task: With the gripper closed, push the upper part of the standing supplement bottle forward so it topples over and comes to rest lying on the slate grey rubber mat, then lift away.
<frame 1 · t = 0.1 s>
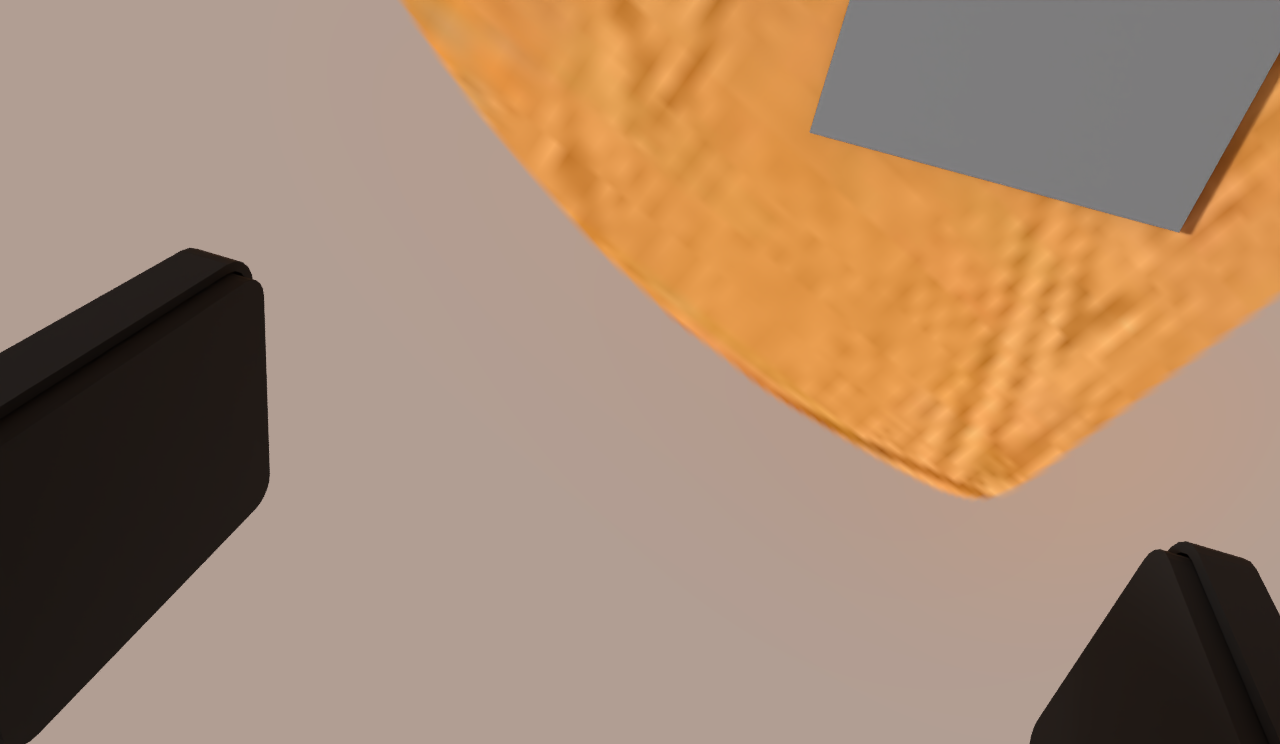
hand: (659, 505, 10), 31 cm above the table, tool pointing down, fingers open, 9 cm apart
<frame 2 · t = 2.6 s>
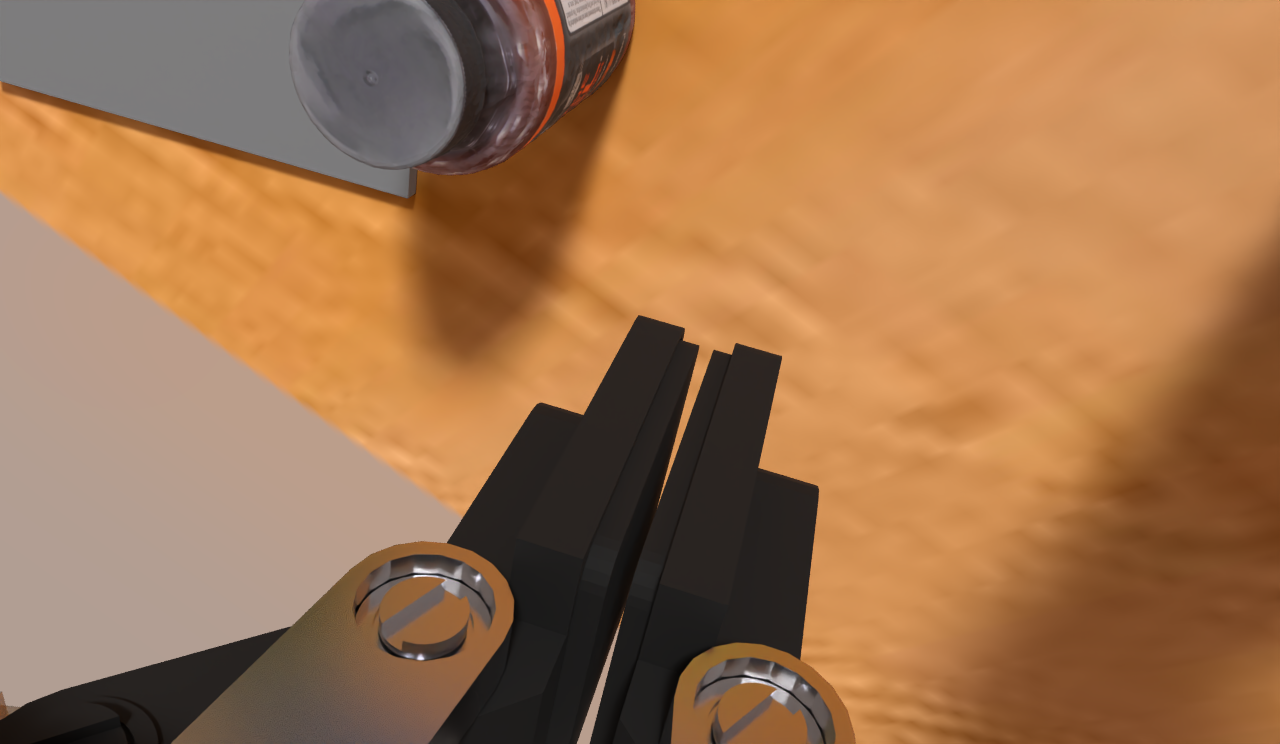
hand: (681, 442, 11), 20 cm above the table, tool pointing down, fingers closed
supplement bottle: (551, 1, 29), on the table
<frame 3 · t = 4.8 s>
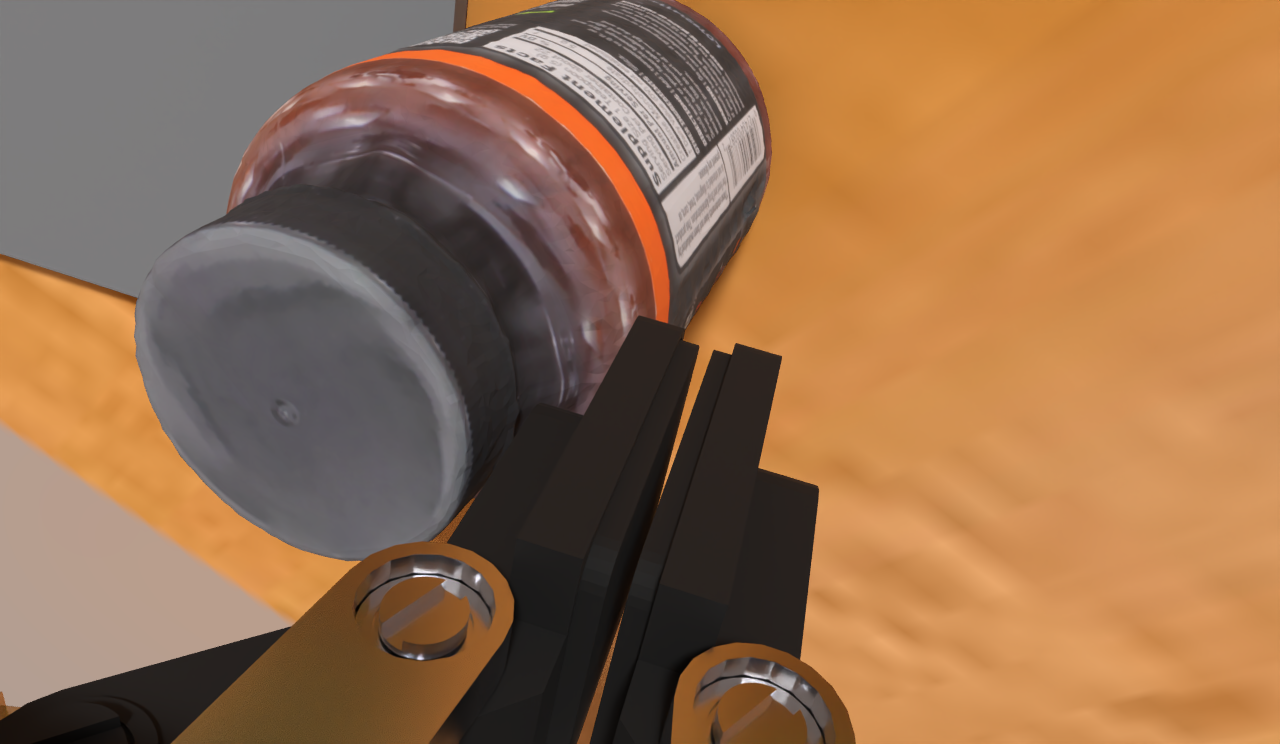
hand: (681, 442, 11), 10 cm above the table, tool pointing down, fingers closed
supplement bottle: (640, 137, 19), on the table, touching gripper
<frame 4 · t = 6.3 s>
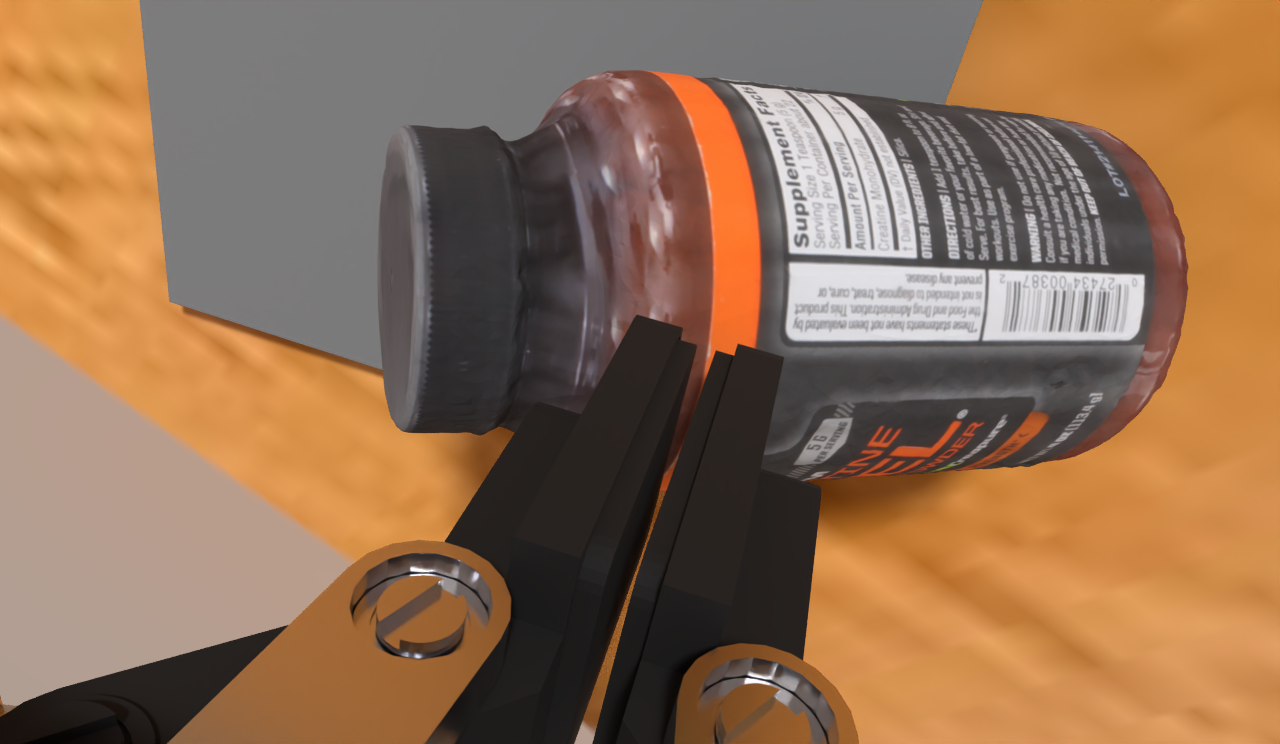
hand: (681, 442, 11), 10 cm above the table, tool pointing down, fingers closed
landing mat: (511, 98, 19), on the table
supplement bottle: (1061, 294, 16), point 2 cm above the table, touching gripper
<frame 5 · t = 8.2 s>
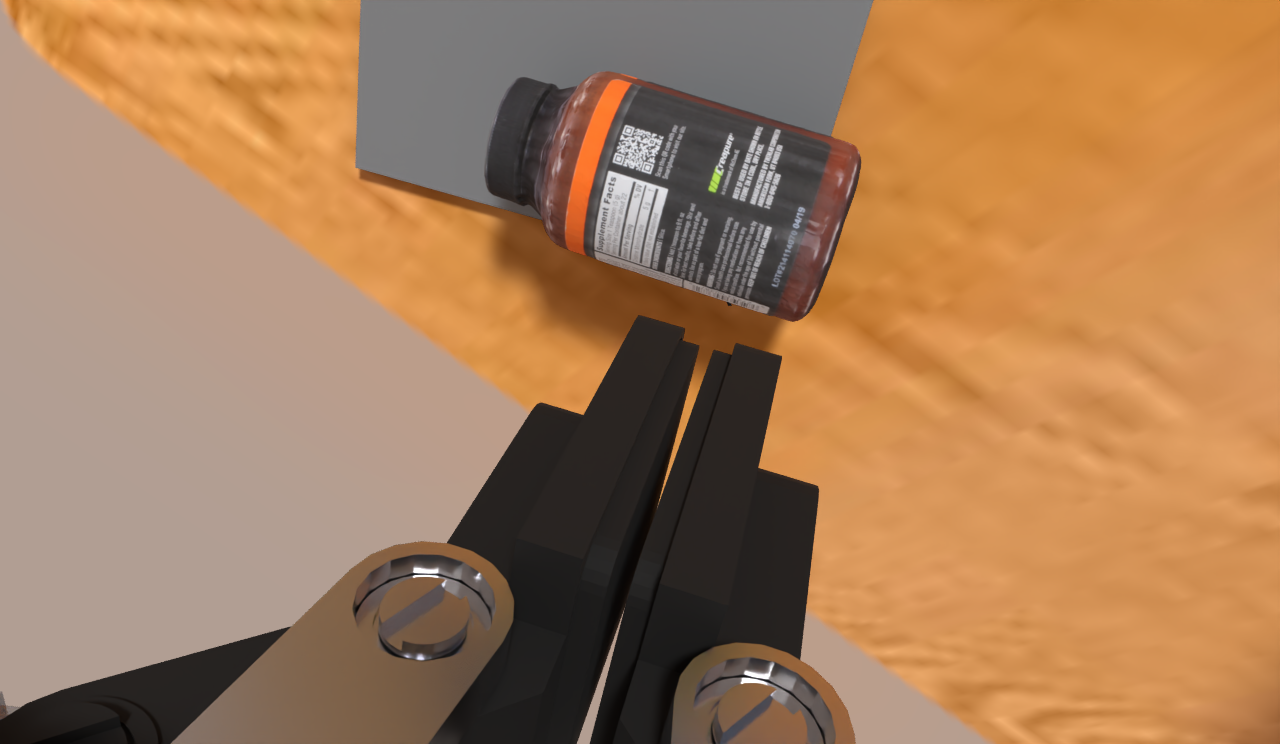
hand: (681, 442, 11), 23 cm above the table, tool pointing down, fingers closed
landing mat: (602, 18, 31), on the table
supplement bottle: (841, 242, 29), point 4 cm above the table, touching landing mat
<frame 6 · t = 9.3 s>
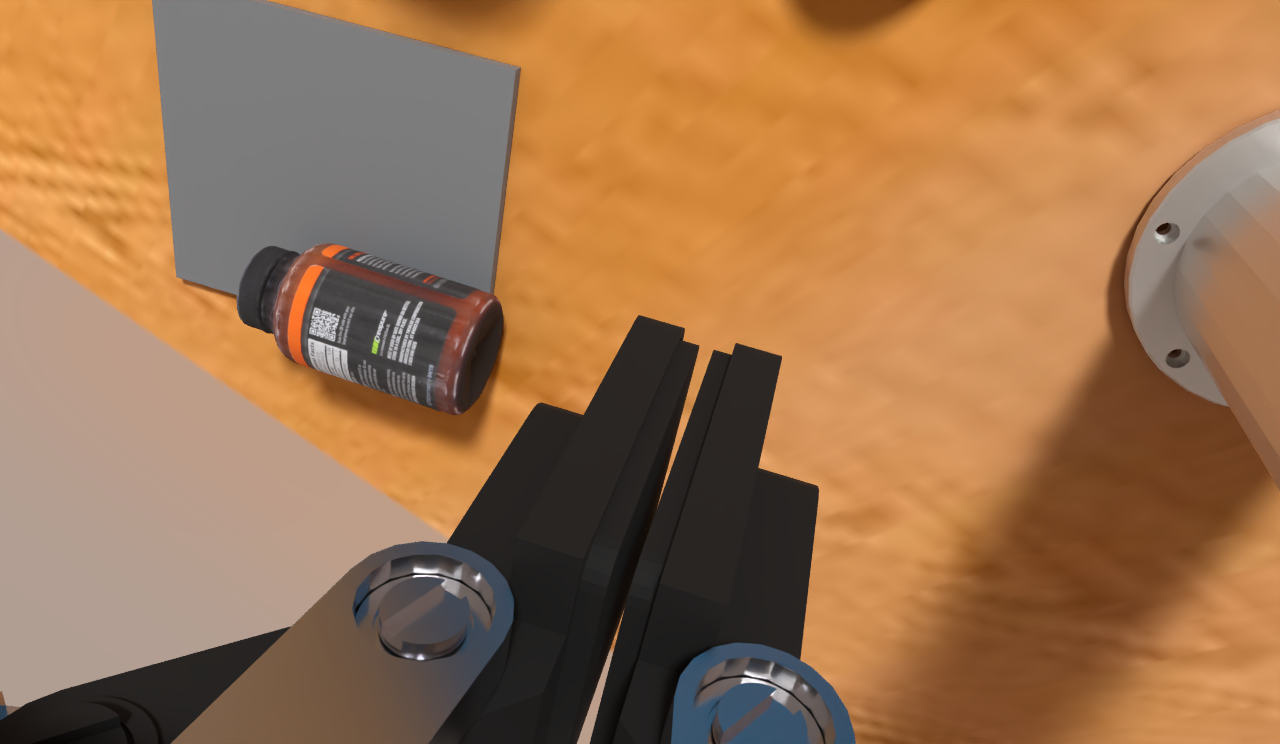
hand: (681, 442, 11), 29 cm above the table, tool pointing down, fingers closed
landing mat: (333, 181, 44), on the table
supplement bottle: (487, 360, 42), point 4 cm above the table, touching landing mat
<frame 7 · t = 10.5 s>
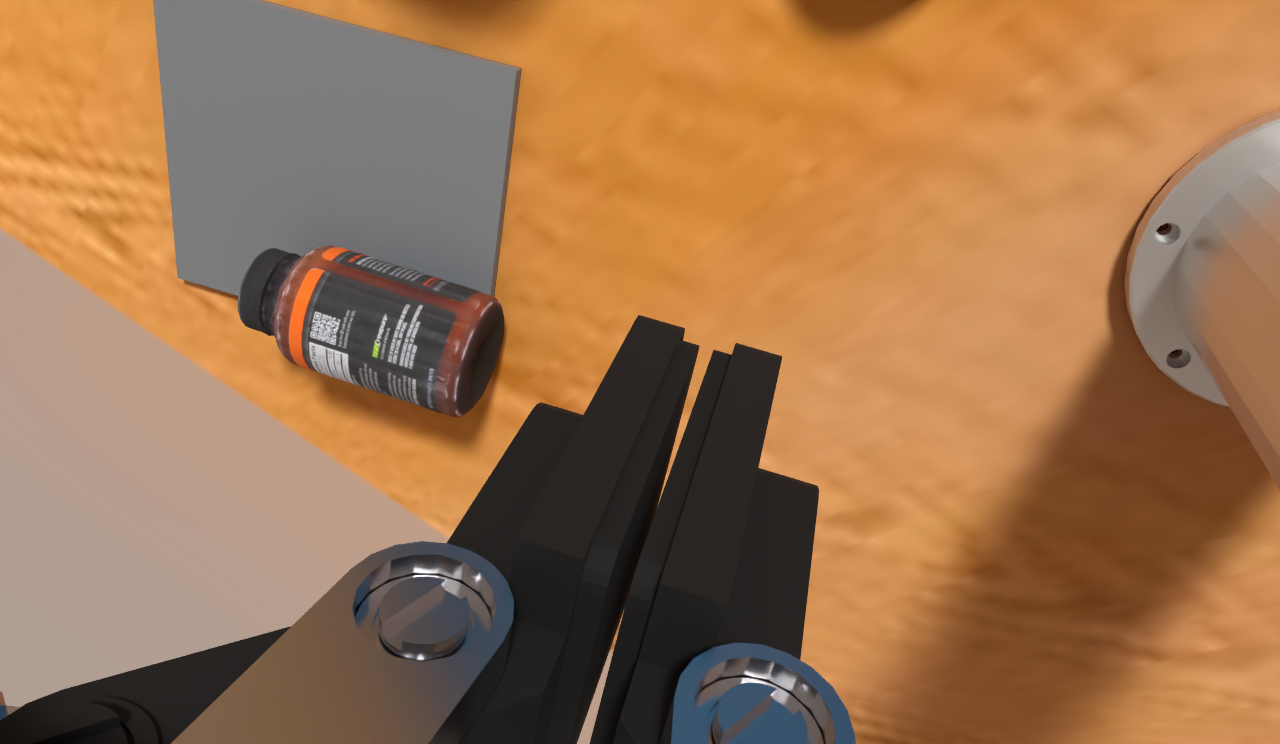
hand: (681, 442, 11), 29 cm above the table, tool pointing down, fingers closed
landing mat: (334, 182, 44), on the table
supplement bottle: (488, 362, 42), point 4 cm above the table, touching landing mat
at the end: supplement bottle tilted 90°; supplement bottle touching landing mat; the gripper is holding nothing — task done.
